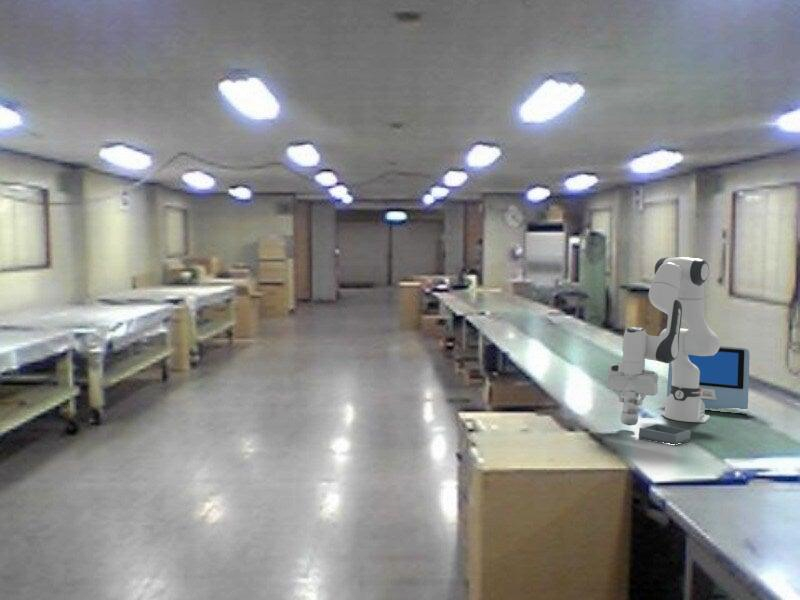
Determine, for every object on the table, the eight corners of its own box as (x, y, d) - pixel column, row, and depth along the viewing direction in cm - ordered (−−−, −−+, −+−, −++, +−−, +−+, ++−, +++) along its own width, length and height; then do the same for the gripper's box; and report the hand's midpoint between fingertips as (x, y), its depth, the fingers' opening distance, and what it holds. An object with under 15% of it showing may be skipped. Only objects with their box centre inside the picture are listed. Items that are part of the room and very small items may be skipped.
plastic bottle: (624, 422, 316) (627, 372, 314) (640, 425, 311) (643, 375, 310) (617, 424, 311) (620, 374, 310) (633, 427, 306) (637, 376, 305)
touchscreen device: (666, 407, 369) (671, 343, 369) (665, 402, 388) (669, 341, 387) (747, 415, 359) (752, 350, 359) (742, 410, 378) (747, 347, 377)
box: (654, 433, 308) (655, 423, 308) (689, 440, 299) (690, 430, 298) (638, 438, 297) (639, 428, 297) (675, 446, 288) (676, 435, 288)
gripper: (661, 371, 305) (659, 406, 306) (612, 364, 318) (610, 398, 319) (654, 372, 300) (652, 408, 301) (605, 365, 314) (603, 400, 315)
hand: (630, 403), depth 310 cm, fingers closed on plastic bottle, 6 cm apart
